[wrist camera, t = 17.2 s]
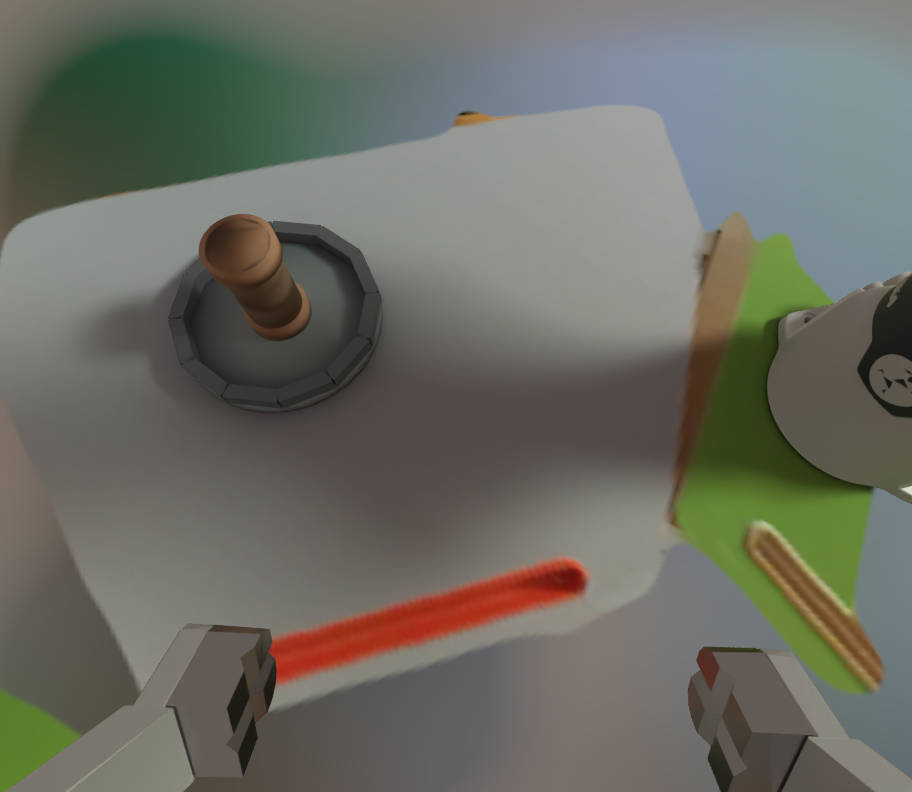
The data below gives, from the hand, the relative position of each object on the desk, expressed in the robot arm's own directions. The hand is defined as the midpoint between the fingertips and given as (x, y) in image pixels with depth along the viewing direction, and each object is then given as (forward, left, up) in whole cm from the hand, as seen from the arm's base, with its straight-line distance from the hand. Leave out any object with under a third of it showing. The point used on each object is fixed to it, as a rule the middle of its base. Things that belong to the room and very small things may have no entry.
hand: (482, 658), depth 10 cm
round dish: (+5, -29, -31) cm, 43 cm away
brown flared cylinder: (+5, -29, -30) cm, 43 cm away
